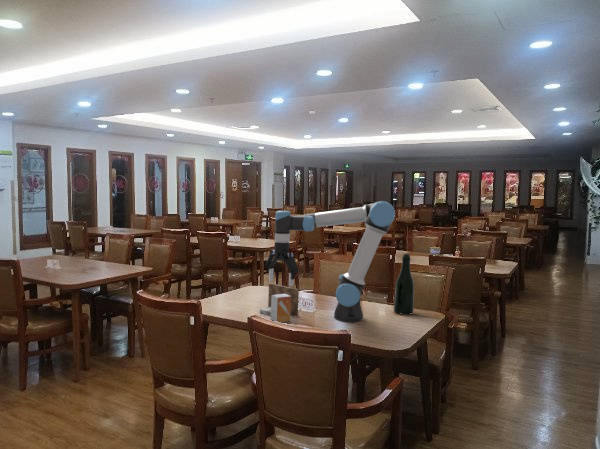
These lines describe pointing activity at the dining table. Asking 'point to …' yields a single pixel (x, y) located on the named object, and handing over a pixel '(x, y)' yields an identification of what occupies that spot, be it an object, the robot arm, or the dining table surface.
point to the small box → (280, 307)
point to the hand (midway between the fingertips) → (280, 283)
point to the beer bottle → (404, 288)
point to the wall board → (280, 289)
